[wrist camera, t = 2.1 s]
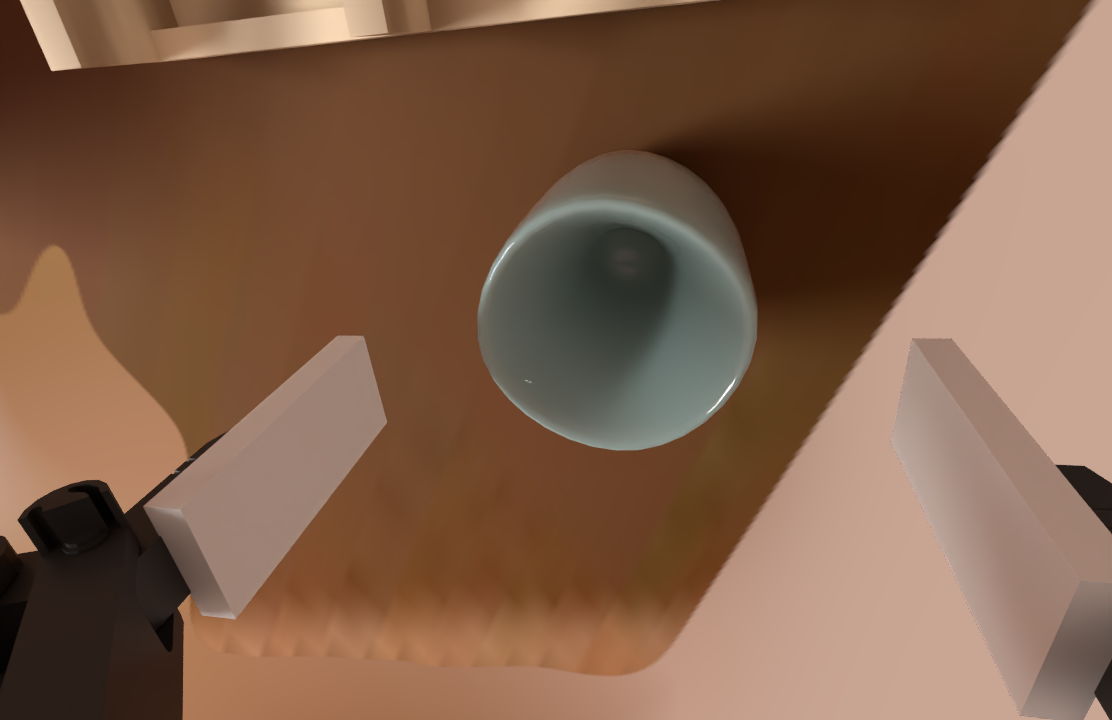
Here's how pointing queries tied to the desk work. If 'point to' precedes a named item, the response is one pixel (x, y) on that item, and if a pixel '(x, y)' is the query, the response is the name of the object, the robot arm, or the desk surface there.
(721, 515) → the desk surface
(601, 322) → the cup
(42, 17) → the rack
